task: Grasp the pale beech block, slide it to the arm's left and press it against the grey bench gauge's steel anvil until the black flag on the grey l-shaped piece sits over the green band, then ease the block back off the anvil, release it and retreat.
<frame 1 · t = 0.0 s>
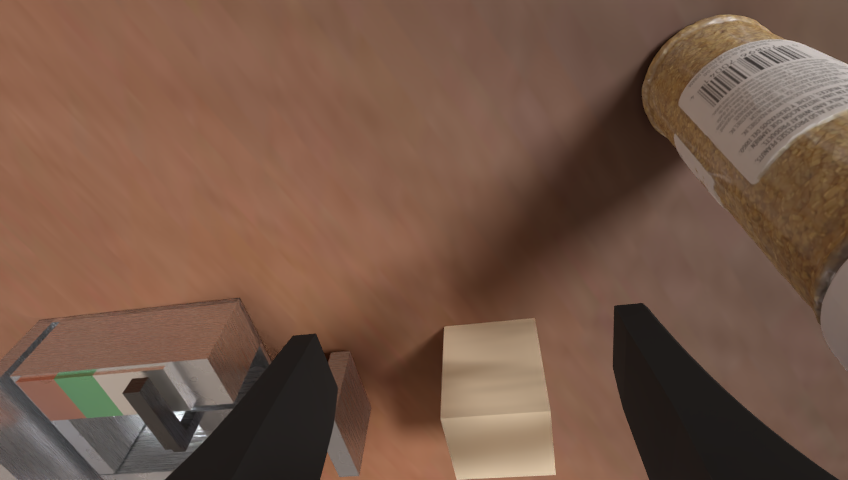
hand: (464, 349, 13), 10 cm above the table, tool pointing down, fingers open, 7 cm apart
sprinkles bottle: (704, 76, 19), on the table
block: (493, 353, 27), on the table
gauge housing: (227, 377, 29), on the table
grey l-shaped piece: (262, 401, 25), point 3 cm above the table, slide at 0.0 cm
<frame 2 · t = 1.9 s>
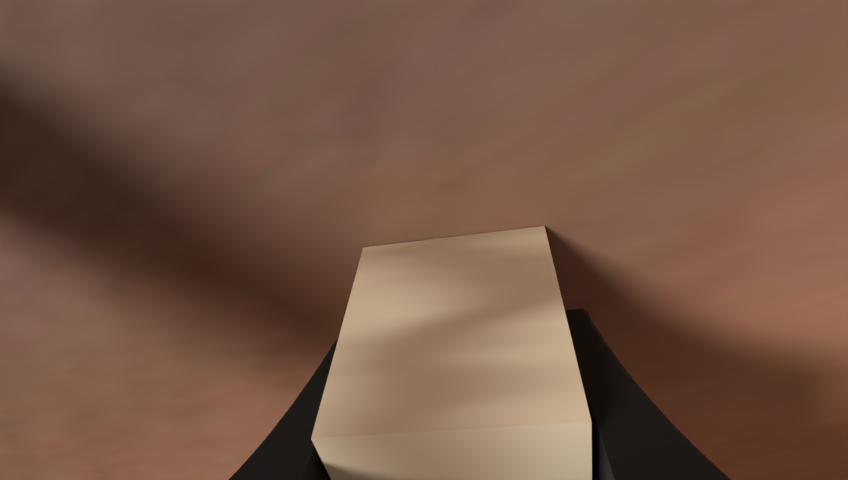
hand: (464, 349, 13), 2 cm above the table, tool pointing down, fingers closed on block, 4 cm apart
block: (464, 305, 14), on the table, touching gripper
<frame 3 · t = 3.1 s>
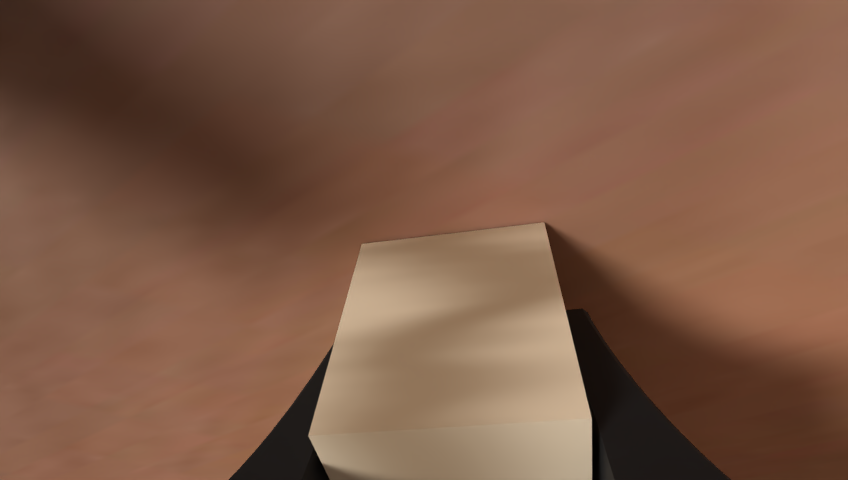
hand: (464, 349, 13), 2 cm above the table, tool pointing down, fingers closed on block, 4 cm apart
block: (463, 302, 14), on the table, touching gripper
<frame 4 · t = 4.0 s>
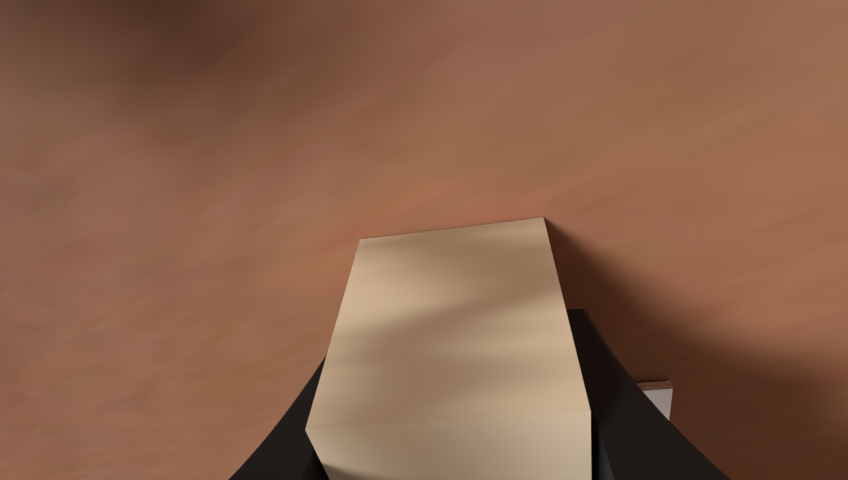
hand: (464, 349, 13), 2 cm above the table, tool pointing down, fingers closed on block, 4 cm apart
block: (462, 298, 14), on the table, touching gripper, grey l-shaped piece
gauge housing: (491, 452, 18), on the table
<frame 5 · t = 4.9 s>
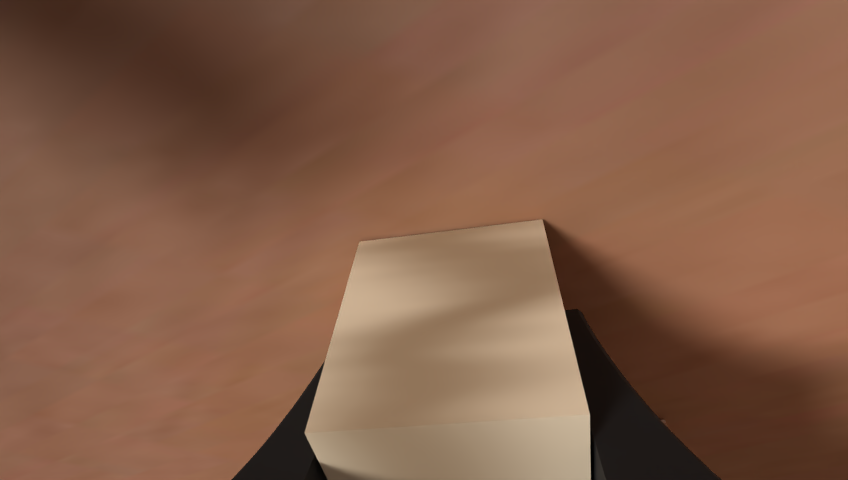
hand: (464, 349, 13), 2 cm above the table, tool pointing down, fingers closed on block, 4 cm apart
block: (461, 300, 14), on the table, touching gripper
when the fingers open (2 cm above the table, at t = 5.3 s): block stays where it is, on the table.
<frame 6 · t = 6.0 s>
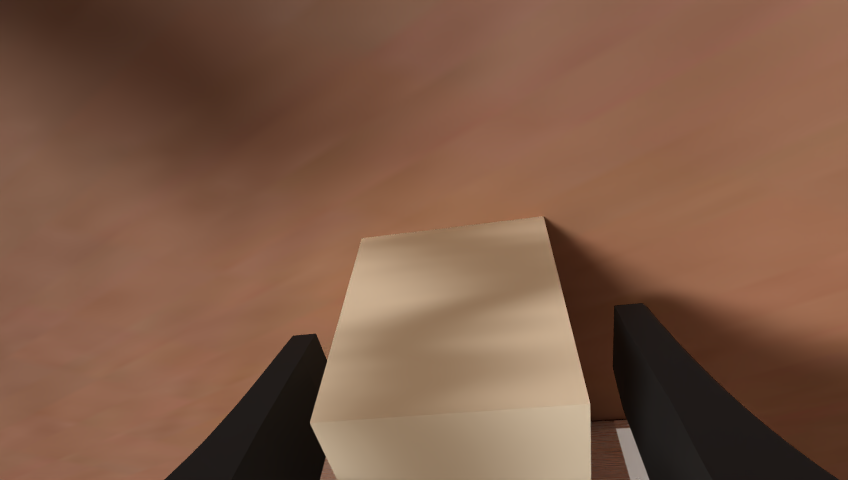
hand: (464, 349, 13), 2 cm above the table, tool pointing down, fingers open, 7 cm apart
block: (463, 296, 14), on the table
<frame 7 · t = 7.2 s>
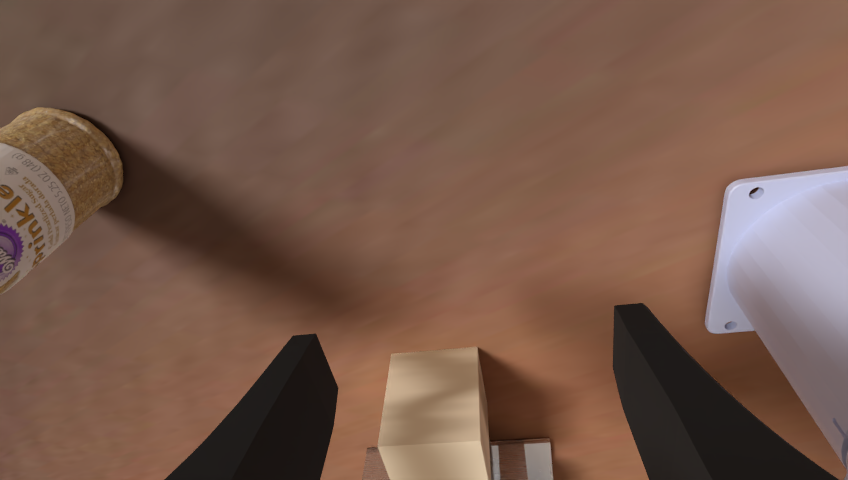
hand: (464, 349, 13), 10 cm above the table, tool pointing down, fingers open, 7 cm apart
sprinkles bottle: (75, 153, 22), on the table
block: (440, 379, 28), on the table
gauge housing: (462, 472, 33), on the table
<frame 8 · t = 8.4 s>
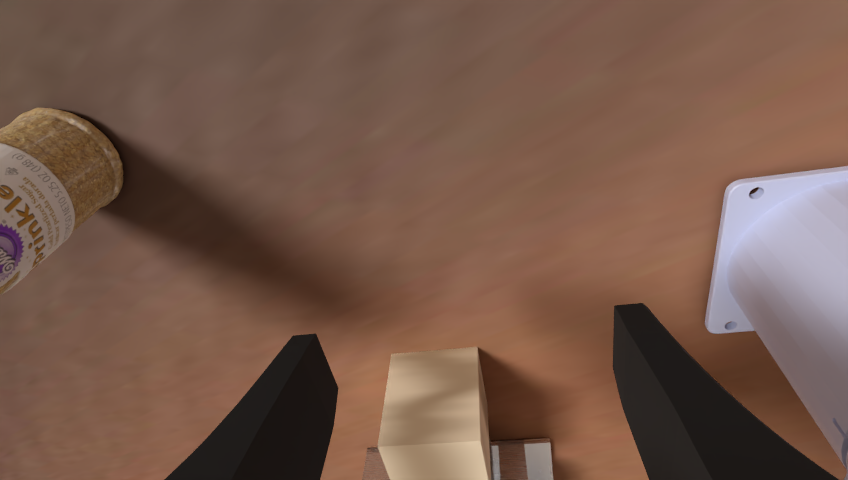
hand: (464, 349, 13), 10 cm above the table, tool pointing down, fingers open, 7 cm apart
sprinkles bottle: (75, 153, 22), on the table
block: (440, 379, 28), on the table
gauge housing: (463, 472, 33), on the table
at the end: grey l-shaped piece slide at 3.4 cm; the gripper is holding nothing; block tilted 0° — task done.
